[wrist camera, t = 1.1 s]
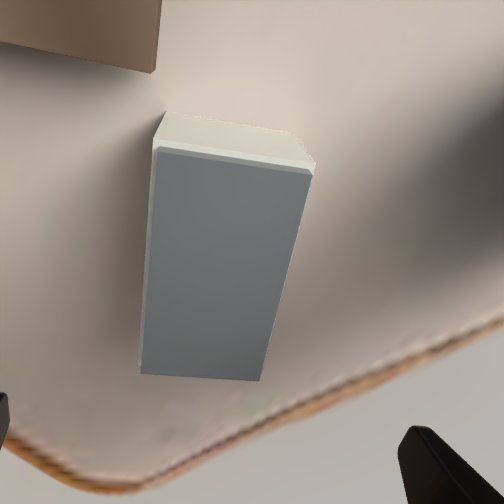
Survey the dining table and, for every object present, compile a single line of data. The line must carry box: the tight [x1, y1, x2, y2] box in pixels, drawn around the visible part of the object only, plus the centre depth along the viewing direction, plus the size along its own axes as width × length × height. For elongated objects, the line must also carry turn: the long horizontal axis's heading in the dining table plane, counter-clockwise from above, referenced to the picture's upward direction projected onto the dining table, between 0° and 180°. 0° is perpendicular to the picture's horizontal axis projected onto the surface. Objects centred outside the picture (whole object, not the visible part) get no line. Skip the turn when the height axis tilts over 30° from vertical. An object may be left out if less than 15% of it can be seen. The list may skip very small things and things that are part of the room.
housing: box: [137, 111, 316, 381], centre depth 16 cm, size 9×5×5 cm, turn 170°
